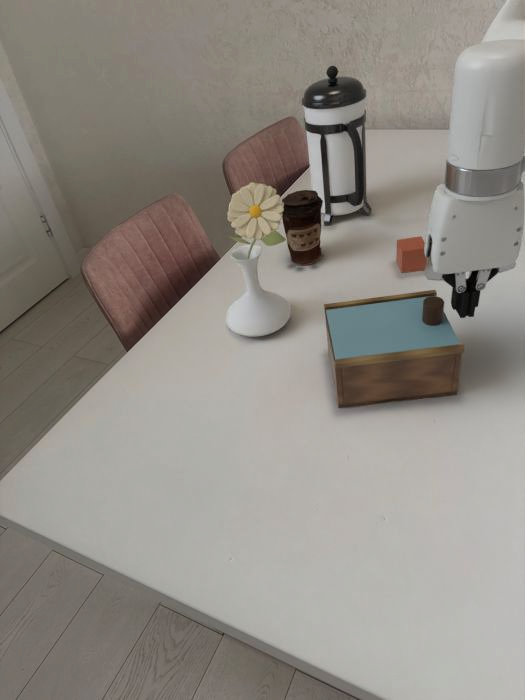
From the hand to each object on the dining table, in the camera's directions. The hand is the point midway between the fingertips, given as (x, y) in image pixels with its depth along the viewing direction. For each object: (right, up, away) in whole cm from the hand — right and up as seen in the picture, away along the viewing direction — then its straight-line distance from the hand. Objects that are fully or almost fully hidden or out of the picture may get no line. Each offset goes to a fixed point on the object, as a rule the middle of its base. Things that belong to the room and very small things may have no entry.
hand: (463, 311), depth 66 cm
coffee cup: (-18, +13, +35) cm, 42 cm away
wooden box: (-8, -8, +7) cm, 14 cm away
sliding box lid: (-9, -2, +2) cm, 10 cm away
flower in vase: (-26, 0, +21) cm, 34 cm away
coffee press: (-8, +26, +48) cm, 56 cm away
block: (+1, +11, +28) cm, 30 cm away
